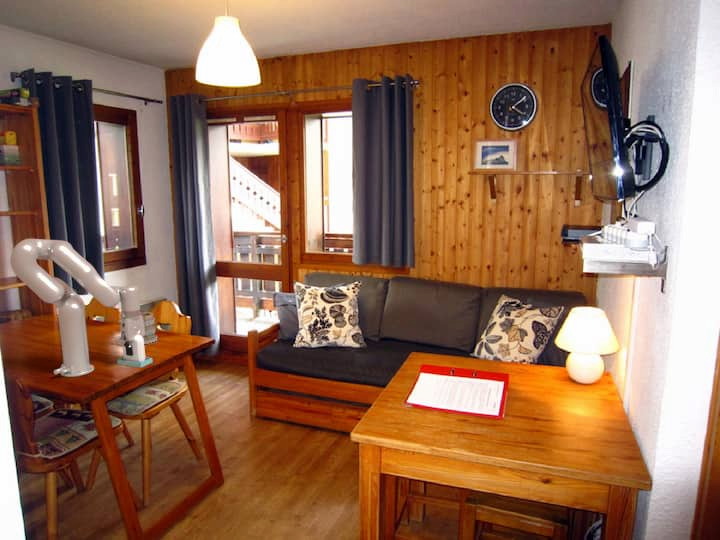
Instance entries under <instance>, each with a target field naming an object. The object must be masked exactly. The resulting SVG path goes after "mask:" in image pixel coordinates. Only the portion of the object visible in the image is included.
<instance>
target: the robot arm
mask: <svg viewBox="0 0 720 540" xmlns="http://www.w3.org/2000/svg"><path fill="white" fill-rule="evenodd" d="M9 259H10V261H9V262H10V267H11V270H12V271H13V273H14V274H15V275H16V277H18V279H20V280H21V281H22V282H23V283H24V284H25V285H26V286H27V287H28V288H29V289H30V290H31V291H32V292H33V293H35V294H36V296H37V297H39V298H40V299H41V300H42V301H43V302H45V303H47V304H53V305H54V307H56V308H57V318H58V324H59V333H60V339H61V340H60V341H61V350H62V359H63V363H62V364H61V366H60V368H57V369H54V370H53V374H54V375H58V374H60V375H61V376H62V377H70V378H71V377H80V376H83V375H87V374H89V373H92V372H94V370H95V366H94V365H92V364H90V355H89V344H88V335H87V324H86V311H85V310H86V308H85V307H86V304H85V302H84V300H83V298H82V297H81V296H80V295H78V293H77V292H75V291H74V290H73V289H72V288H71V287H70V286H69V285H68V284H67V283H66V282H65V281H64V280H62V279H60V278H59V277H55V276H51V275H50V274H49V273H48V272H47V271H46V270H45V269H44V268H42V267H41V266H40V265H39V263H38V262H37V260H50V261H51V260H52V261H53V262H54V263H55V264H57V266H59V268H61V269H62V270H63V271H65V272H66V273H67V274H68V275H69V276H71V277H72V278H73V279H74V280H75V281H76V282H77V283H78V284H79V285H80V286H81V287H82V288H83V289H85V290H86V291H87V293H89V294H90V296H92V297H93V298H95V299H96V300H97V301H98V302H99V303H100V304H102V306H104V307H107V308H113V307H114V308H115V307H116V306H118V305H119V303H120V309H121V313H120V317H121V318H120V320H121V324H120V340H119V344H121V345H122V346H123V345H124V347H126V355H128V356H133V349H132V347H131V343H132V341H133V340H134V339H135V337H136V336H138V335H140V336H142V337H144V336H145V334H146V333H145V327H144V321H143V317H142V315H140V313H141V306H140V305H141V303H140V290H139V286H137V285H130V284H129V285H124V286H118V285H117V286H116V285H109V284H108V282H106V281H105V280H104V278H102V277H101V275H100V274H99V273H98V272H97V270H96V269H95V267H94V266H93V265H92V264H91V263H90V262H88V261H87V260H86V259H85V258H84V257H83V256H81V254H79V253H78V252H77V251H76V249H74V248H73V246H72V244H71V243H70V242H68V241H67V240H66V241H65V240H62V239H61V240H60V239H59V240H58V239H40V238H25V239H23V240H21V241H20V242H19V243H17V244H16V245H15V246H14V248H13V250H12V252H11V254H10V258H9ZM124 340H125V341H124ZM128 341H129V343H128Z"/></svg>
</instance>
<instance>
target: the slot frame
mask: <svg viewBox="0 0 720 540" xmlns="http://www.w3.org/2000/svg"><path fill="white" fill-rule="evenodd" d="M152 363H153V358H152V357H148V356H145V361H143V362H133V361H127V360H124V356H123V357H122V358H119V359H117V365H120V364H121V366H127V365H128V367H134V368H135V367H136V368H139V369H140V368H143V367H145V366H148V365H151V364H152Z"/></svg>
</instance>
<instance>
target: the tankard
mask: <svg viewBox="0 0 720 540" xmlns="http://www.w3.org/2000/svg"><path fill="white" fill-rule="evenodd" d="M140 315H142V317H143V321H144V327H145V333H146V334H145V336H144V337H143V339H144V344H148V345H150V344H149V343H151V344H153V343H152V342H154V343H156V342H158V339H159V338H158V335H155V334H156V326H155V322H156V318H155V317H154V313H153V312H149V311H148V312H147V311H145V312H144V311H143V312H140ZM117 323H119V325H121V319H119V320H118V322H117ZM157 338H158V339H157ZM155 341H156V342H155Z"/></svg>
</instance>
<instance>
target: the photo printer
mask: <svg viewBox="0 0 720 540" xmlns="http://www.w3.org/2000/svg"><path fill="white" fill-rule="evenodd" d="M124 341H125V340H124ZM128 343H129V341H128ZM131 347H132V349H133V356H128V355H126V347H124V345H123V344H122V352H123V357H124V360H127V361H132V362H139V363H141V362H143V361H145V357H146V352H145V350H146V349H145V345H144V339H143V337H142V336H140V335H138V336H136V337H135V339H134V340H133V341H132V343H131Z"/></svg>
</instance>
